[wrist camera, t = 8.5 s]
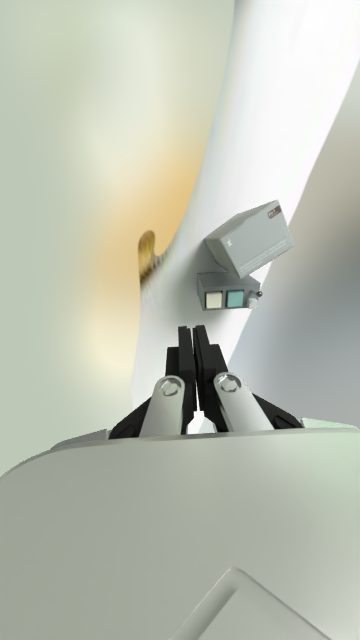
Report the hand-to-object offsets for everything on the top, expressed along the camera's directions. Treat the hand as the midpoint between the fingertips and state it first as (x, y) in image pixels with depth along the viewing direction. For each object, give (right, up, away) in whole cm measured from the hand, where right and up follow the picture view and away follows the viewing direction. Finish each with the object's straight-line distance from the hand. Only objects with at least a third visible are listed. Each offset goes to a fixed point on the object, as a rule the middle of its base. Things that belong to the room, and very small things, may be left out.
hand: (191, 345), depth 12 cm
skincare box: (+9, +19, +26) cm, 33 cm away
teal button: (+9, +7, +23) cm, 26 cm away
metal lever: (+12, +7, +20) cm, 25 cm away
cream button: (+5, +6, +23) cm, 25 cm away
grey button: (+12, +5, +21) cm, 25 cm away
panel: (+8, +10, +30) cm, 33 cm away
